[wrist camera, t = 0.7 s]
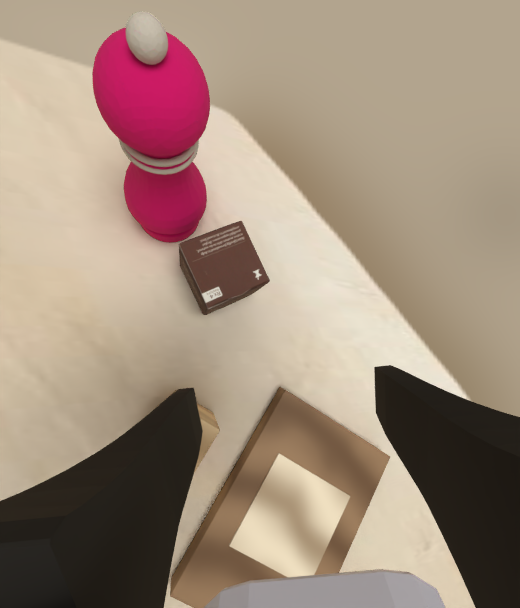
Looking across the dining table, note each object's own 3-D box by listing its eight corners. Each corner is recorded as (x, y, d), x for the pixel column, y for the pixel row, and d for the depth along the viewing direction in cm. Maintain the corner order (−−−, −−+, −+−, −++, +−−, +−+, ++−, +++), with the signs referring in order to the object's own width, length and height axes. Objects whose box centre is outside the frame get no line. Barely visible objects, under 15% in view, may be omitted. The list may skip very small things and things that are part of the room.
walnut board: (292, 638, 30) (301, 661, 28) (171, 578, 28) (170, 598, 26) (378, 450, 34) (391, 457, 32) (279, 387, 32) (286, 390, 30)
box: (230, 244, 33) (243, 218, 26) (253, 294, 33) (272, 281, 26) (178, 264, 31) (176, 242, 24) (202, 316, 31) (207, 309, 24)
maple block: (187, 454, 29) (188, 482, 24) (148, 431, 29) (138, 454, 23) (213, 412, 30) (219, 430, 25) (175, 390, 30) (173, 402, 24)
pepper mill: (195, 178, 33) (209, -53, 14) (211, 240, 32) (248, 95, 13) (125, 186, 31) (27, -68, 12) (141, 253, 31) (67, 103, 11)
